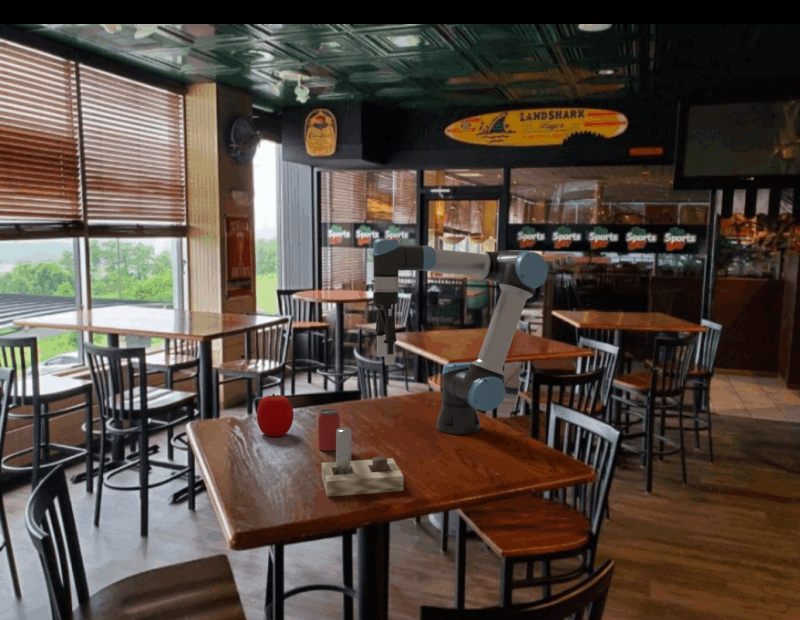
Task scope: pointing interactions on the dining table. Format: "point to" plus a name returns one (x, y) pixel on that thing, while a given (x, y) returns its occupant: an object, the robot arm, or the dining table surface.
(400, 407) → the dining table surface
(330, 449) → the beer can
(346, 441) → the steel pin
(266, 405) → the tomato
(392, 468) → the socket block
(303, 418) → the dining table surface
